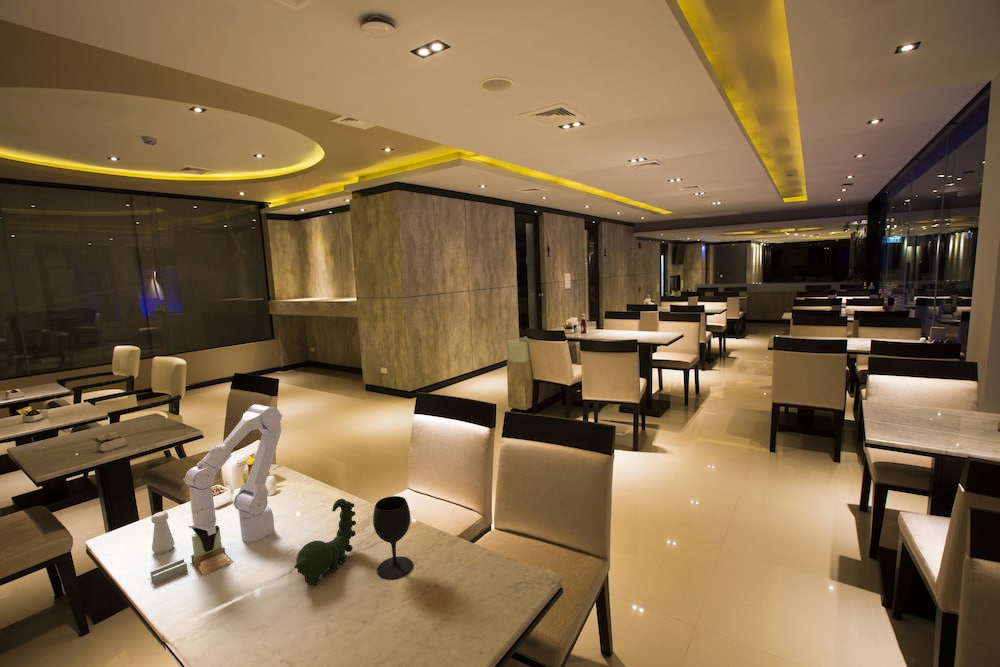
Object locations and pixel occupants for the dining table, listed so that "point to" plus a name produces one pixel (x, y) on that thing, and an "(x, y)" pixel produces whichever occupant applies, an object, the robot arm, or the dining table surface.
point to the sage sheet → (198, 545)
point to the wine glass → (392, 534)
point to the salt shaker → (161, 534)
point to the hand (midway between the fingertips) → (207, 548)
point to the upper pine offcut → (213, 561)
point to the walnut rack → (197, 561)
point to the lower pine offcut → (214, 567)
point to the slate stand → (168, 572)
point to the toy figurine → (327, 547)
